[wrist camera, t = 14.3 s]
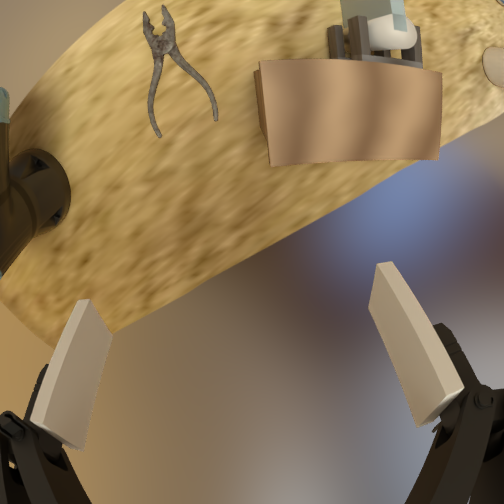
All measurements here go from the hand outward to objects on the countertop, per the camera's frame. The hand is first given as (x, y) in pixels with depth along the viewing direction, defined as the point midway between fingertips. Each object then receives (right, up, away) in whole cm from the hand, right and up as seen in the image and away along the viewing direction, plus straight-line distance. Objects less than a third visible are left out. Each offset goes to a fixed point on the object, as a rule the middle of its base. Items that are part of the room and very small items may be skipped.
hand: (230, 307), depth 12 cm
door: (+14, +35, +15) cm, 41 cm away
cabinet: (+10, +26, +21) cm, 35 cm away
